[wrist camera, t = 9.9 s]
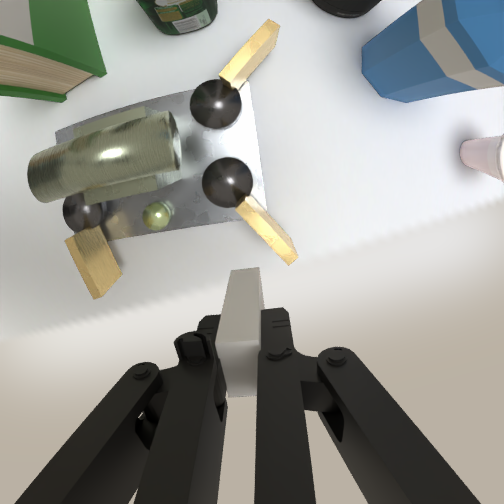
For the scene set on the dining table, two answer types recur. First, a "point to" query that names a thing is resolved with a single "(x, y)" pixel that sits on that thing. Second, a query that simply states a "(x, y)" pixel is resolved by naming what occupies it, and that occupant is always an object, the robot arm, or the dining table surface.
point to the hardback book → (46, 48)
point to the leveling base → (191, 165)
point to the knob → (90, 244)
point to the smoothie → (485, 155)
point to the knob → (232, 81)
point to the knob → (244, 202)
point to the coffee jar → (179, 14)
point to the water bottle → (438, 50)
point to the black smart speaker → (347, 7)
